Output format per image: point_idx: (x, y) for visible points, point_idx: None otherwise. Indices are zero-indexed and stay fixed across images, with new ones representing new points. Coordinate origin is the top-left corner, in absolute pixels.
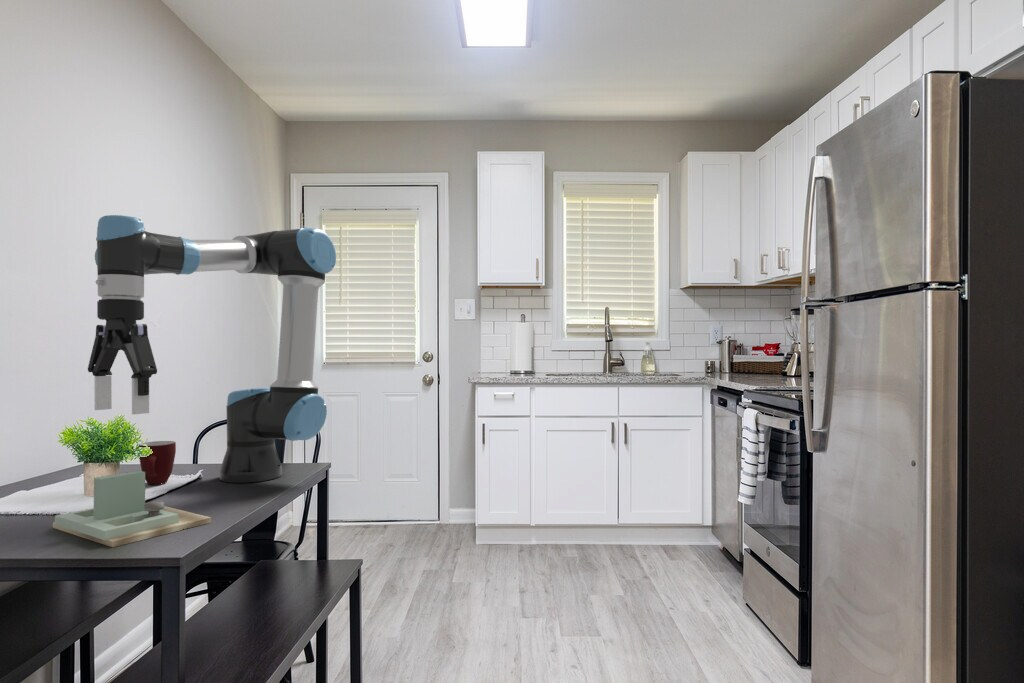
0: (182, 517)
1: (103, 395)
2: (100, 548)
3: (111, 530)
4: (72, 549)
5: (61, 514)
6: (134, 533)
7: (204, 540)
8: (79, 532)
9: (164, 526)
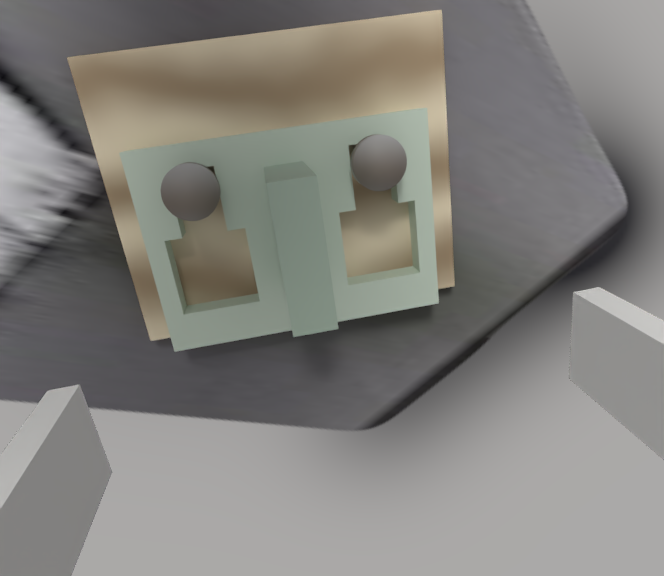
0: (372, 73)
1: (56, 516)
2: None
3: (437, 287)
4: (394, 341)
5: (172, 337)
6: None
7: (572, 113)
8: None
9: None
